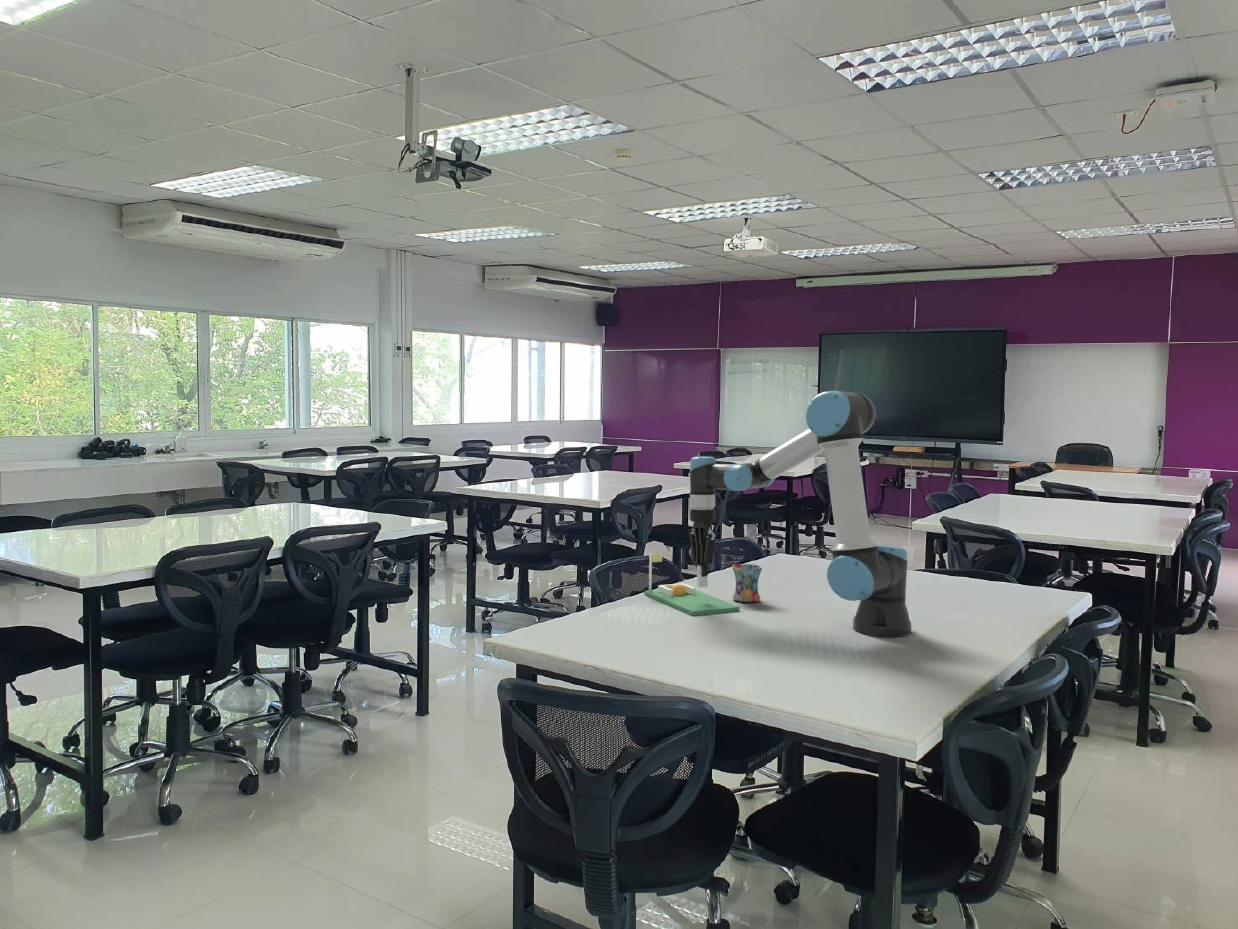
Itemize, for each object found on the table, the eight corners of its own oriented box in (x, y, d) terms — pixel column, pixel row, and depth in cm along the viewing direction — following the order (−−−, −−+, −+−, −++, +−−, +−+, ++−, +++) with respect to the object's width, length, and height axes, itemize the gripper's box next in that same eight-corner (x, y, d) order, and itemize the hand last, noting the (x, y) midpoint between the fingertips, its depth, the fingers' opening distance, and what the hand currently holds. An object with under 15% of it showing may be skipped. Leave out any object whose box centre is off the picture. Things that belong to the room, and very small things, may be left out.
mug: (754, 605, 261) (755, 570, 261) (726, 601, 266) (727, 567, 266) (769, 598, 272) (770, 564, 271) (742, 594, 276) (743, 561, 276)
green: (739, 611, 253) (740, 566, 253) (691, 615, 247) (693, 569, 246) (688, 591, 280) (689, 550, 280) (644, 594, 274) (645, 553, 273)
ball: (689, 586, 268) (682, 580, 271) (676, 588, 266) (669, 582, 269) (687, 600, 269) (680, 593, 273) (674, 601, 267) (667, 595, 271)
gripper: (725, 509, 254) (724, 589, 255) (702, 506, 266) (701, 582, 267) (703, 510, 251) (702, 591, 252) (680, 507, 263) (680, 584, 264)
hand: (702, 586), depth 260 cm, fingers closed
